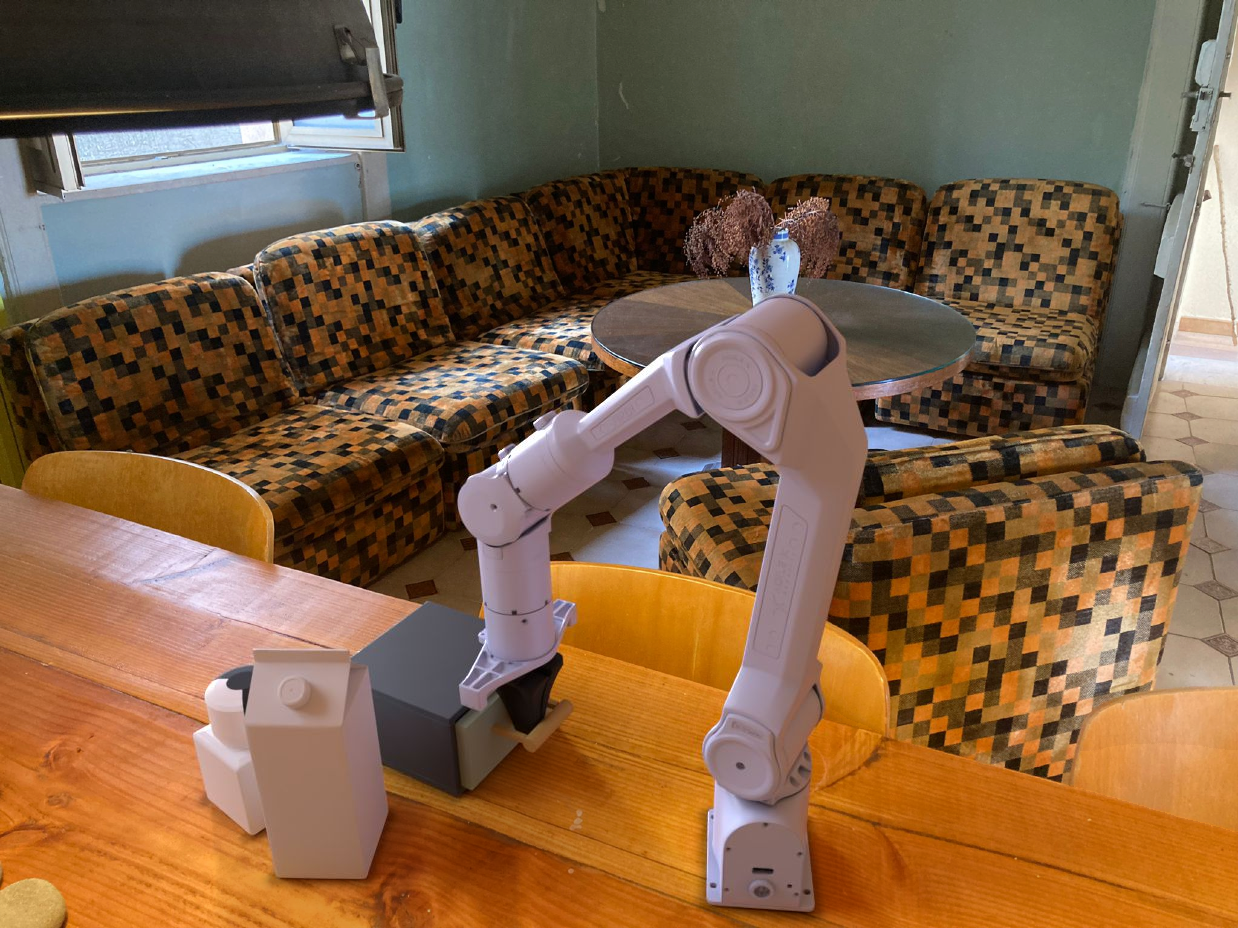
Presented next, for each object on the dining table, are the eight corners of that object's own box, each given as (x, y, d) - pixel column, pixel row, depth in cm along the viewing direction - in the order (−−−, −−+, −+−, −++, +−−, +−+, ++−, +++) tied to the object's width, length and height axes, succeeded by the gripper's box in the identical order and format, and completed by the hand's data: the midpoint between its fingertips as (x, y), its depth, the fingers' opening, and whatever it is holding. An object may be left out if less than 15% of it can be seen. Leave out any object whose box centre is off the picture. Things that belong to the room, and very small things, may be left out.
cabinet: (544, 709, 93) (540, 637, 90) (457, 797, 83) (449, 719, 79) (435, 669, 99) (428, 600, 96) (342, 747, 89) (329, 671, 85)
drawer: (593, 725, 90) (591, 666, 87) (517, 810, 80) (512, 746, 77) (448, 672, 98) (442, 616, 95) (363, 743, 88) (354, 683, 85)
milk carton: (305, 811, 82) (270, 621, 74) (389, 812, 81) (362, 622, 73) (276, 879, 75) (233, 678, 67) (366, 880, 75) (334, 679, 67)
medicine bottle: (279, 754, 88) (257, 644, 83) (326, 789, 84) (305, 676, 79) (206, 799, 83) (178, 684, 78) (252, 838, 79) (225, 720, 74)
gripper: (527, 548, 87) (536, 672, 93) (422, 628, 76) (440, 764, 81) (594, 565, 84) (600, 693, 90) (495, 652, 73) (508, 792, 78)
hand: (528, 729), depth 85 cm, fingers closed, pressing on drawer
